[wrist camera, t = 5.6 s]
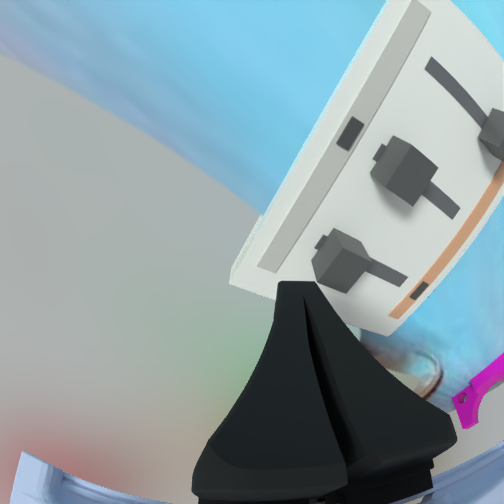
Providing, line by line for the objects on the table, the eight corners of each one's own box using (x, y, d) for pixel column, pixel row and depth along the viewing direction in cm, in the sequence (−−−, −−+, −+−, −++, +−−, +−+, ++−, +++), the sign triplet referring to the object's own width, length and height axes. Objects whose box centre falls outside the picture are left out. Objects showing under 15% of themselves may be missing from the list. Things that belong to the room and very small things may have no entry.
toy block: (516, 332, 26) (536, 369, 20) (520, 341, 28) (538, 374, 22) (445, 391, 33) (458, 429, 27) (456, 394, 35) (468, 428, 29)
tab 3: (507, 128, 11) (527, 137, 9) (492, 155, 12) (512, 167, 10) (492, 107, 10) (514, 115, 8) (477, 136, 11) (499, 147, 10)
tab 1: (361, 241, 16) (372, 262, 14) (338, 271, 17) (346, 294, 15) (333, 227, 15) (343, 247, 13) (311, 260, 16) (317, 282, 15)
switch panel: (527, 114, 11) (542, 120, 9) (383, 323, 22) (389, 338, 21) (398, -27, 8) (411, -34, 6) (230, 268, 19) (228, 286, 17)
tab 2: (418, 155, 12) (438, 167, 11) (396, 190, 14) (413, 206, 12) (392, 135, 12) (411, 144, 10) (369, 172, 13) (384, 187, 12)
